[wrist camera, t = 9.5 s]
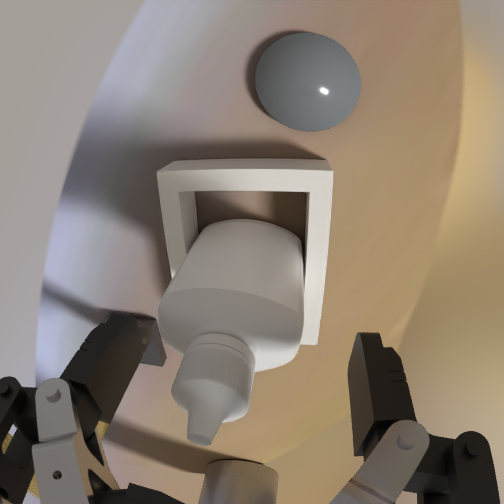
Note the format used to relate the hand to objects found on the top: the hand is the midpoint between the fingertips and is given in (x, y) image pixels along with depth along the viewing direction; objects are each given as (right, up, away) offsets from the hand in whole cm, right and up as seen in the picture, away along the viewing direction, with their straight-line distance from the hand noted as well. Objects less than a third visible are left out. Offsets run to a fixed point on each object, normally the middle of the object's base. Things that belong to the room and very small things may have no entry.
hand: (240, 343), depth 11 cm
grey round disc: (+3, +11, +3) cm, 12 cm away
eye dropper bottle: (0, +4, +7) cm, 8 cm away
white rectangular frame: (0, +4, +7) cm, 8 cm away
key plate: (-8, -3, +12) cm, 15 cm away
